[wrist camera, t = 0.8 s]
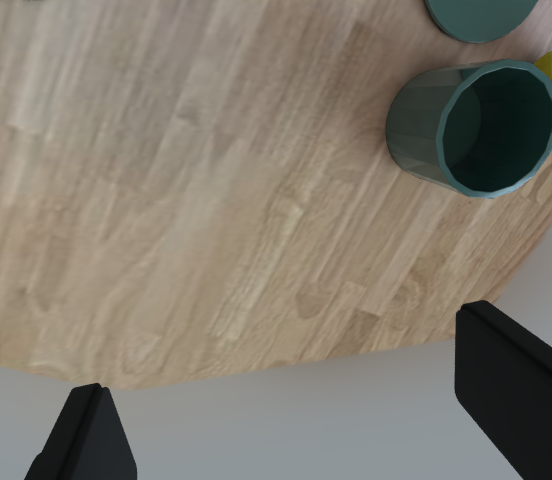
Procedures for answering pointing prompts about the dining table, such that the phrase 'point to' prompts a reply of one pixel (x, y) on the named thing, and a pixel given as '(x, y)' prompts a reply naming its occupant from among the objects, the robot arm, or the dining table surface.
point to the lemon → (545, 64)
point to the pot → (473, 126)
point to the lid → (479, 17)
